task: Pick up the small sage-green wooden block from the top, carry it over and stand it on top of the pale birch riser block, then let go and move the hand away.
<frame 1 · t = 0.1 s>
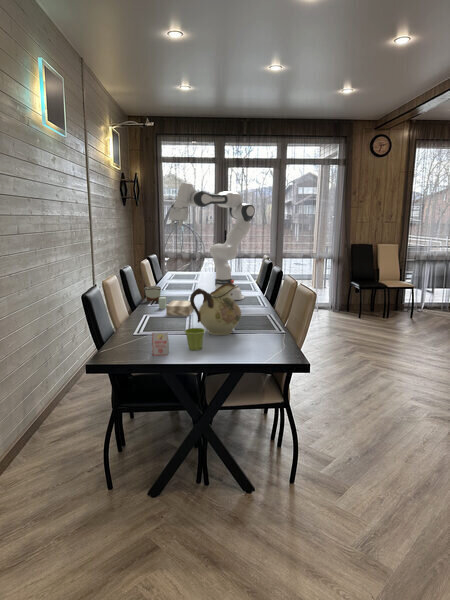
hand: (175, 227, 276), 52 cm above the table, tool tilted 20°, fingers open, 8 cm apart
sage block: (162, 308, 276), on the table
food container: (154, 300, 299), on the table
plant pot: (195, 348, 196), on the table
birch riser block: (180, 312, 265), on the table
pitcher: (219, 332, 221), on the table
white printed box: (160, 354, 188), on the table
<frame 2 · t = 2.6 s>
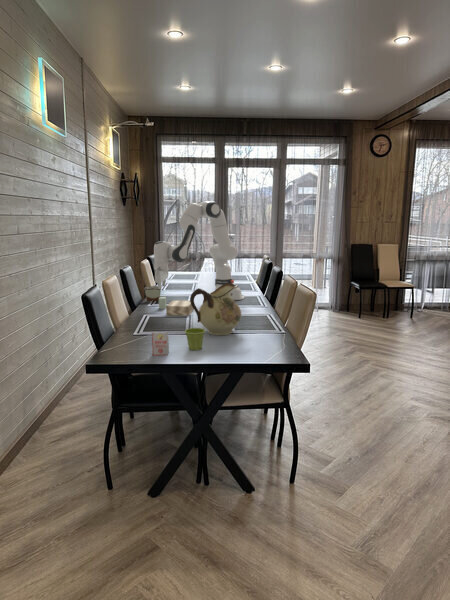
hand: (161, 287, 273), 14 cm above the table, tool pointing down, fingers open, 8 cm apart
nothing on the table moved.
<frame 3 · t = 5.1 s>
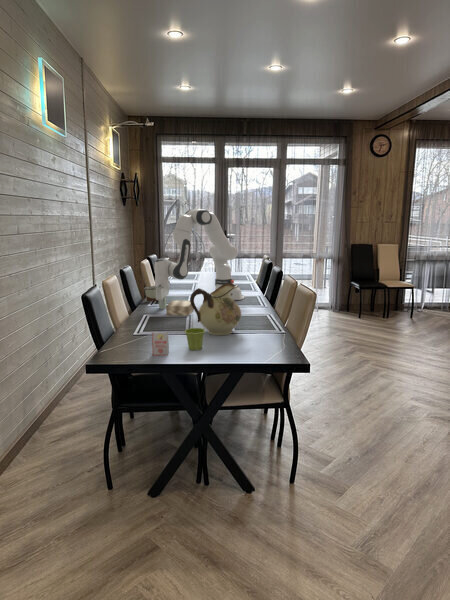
hand: (162, 304, 276), 3 cm above the table, tool pointing down, fingers closed on sage block, 4 cm apart
sage block: (162, 308, 276), on the table, touching gripper
everything else where it was.
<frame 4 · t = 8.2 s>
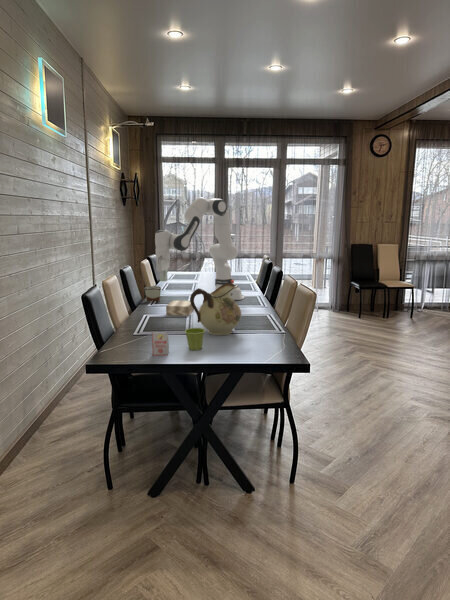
hand: (163, 276, 271), 21 cm above the table, tool pointing down, fingers closed on sage block, 4 cm apart
sage block: (163, 280, 271), point 18 cm above the table, touching gripper
everything else where it was.
when the fingers open (10 cm above the table, at t = 11.5 s): sage block drops 2 cm, resting on birch riser block.
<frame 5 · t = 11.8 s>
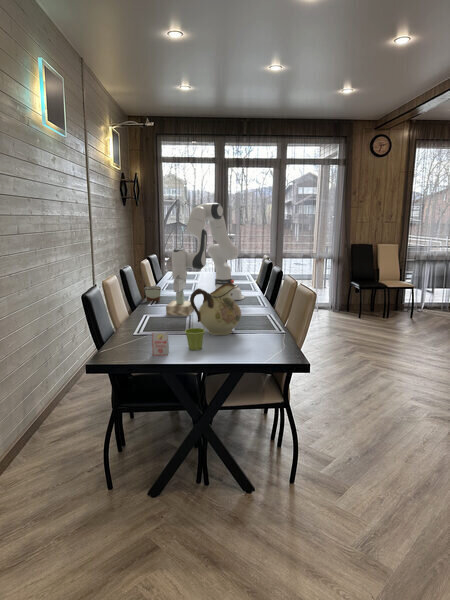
hand: (180, 296, 263), 10 cm above the table, tool pointing down, fingers open, 6 cm apart
sage block: (180, 303, 264), point 6 cm above the table, touching birch riser block
birch riser block: (180, 312, 265), on the table, touching sage block
everything else where it was.
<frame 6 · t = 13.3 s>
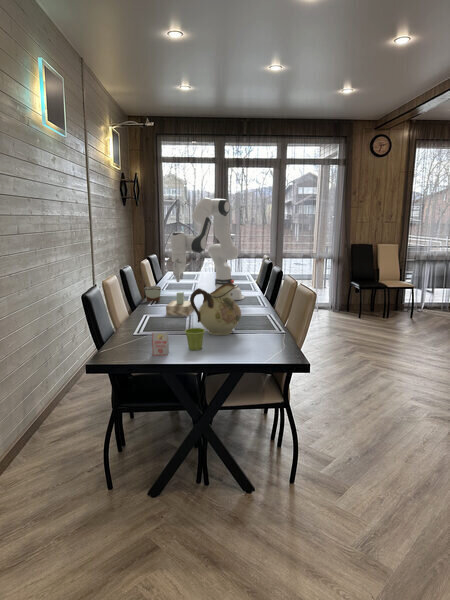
hand: (179, 280, 261), 20 cm above the table, tool pointing down, fingers open, 8 cm apart
nothing on the table moved.
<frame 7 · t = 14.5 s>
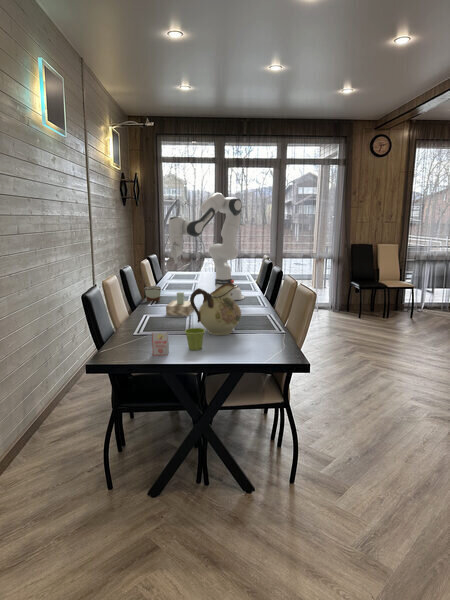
hand: (177, 262, 275), 29 cm above the table, tool pointing down, fingers open, 8 cm apart
nothing on the table moved.
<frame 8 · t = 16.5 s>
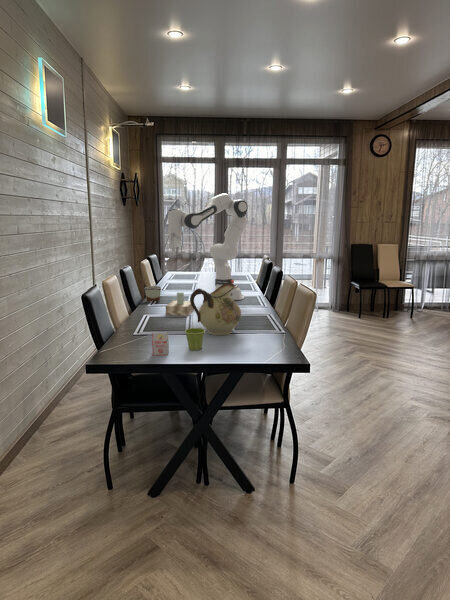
hand: (175, 253, 284), 34 cm above the table, tool pointing down, fingers open, 8 cm apart
nothing on the table moved.
at the end: sage block inside the target area on the birch riser block (0.3 cm from its centre), point 6.0 cm above the birch riser block's base; sage block tilted 0°; the gripper is holding nothing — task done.
